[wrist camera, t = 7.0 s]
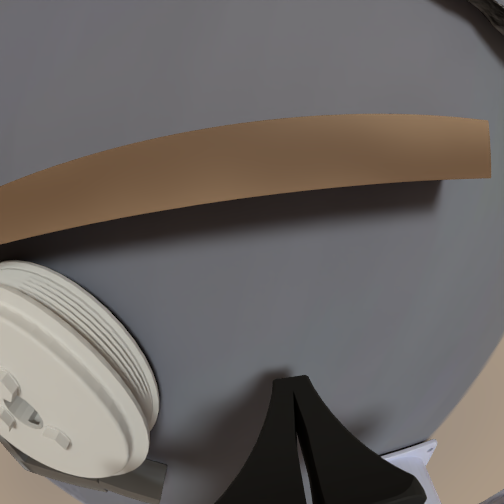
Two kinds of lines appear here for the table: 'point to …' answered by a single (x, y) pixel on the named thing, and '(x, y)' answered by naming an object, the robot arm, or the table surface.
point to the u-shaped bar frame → (233, 191)
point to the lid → (70, 377)
